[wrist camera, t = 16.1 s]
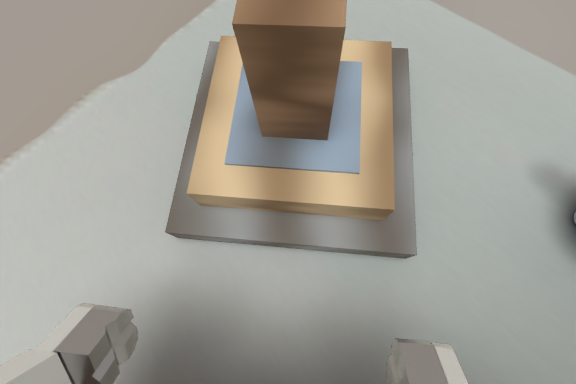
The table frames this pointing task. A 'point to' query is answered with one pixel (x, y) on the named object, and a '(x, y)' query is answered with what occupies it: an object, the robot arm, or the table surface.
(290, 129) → the walnut block
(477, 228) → the table surface
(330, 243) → the plinth
